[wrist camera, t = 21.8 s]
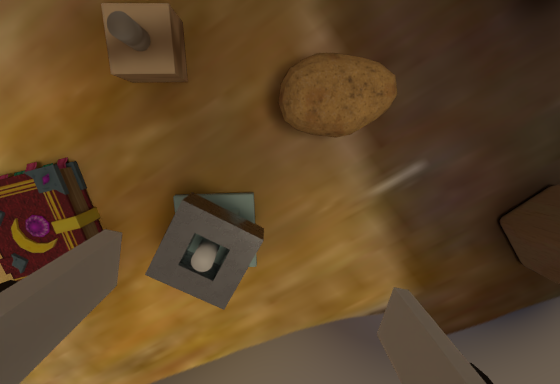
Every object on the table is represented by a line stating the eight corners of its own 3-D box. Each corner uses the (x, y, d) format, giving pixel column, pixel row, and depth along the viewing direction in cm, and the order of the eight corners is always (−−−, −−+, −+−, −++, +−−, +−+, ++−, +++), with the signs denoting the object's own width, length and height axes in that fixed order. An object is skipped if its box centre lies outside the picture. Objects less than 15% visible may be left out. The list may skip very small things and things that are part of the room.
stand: (125, 22, 33) (74, -18, 25) (182, 22, 34) (153, -17, 25) (132, 82, 35) (87, 65, 26) (187, 81, 35) (161, 64, 26)
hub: (175, 194, 38) (145, 215, 29) (253, 192, 39) (249, 212, 29) (183, 266, 41) (156, 308, 31) (256, 263, 41) (253, 303, 31)
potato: (380, 131, 38) (409, 130, 30) (280, 142, 38) (284, 144, 30) (377, 55, 36) (409, 34, 28) (272, 67, 35) (274, 48, 28)
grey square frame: (191, 192, 33) (182, 199, 29) (263, 228, 35) (263, 240, 31) (158, 258, 35) (145, 274, 31) (228, 290, 36) (224, 309, 32)
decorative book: (44, 277, 40) (14, 297, 35) (-6, 172, 37) (-48, 178, 32) (118, 258, 40) (98, 276, 35) (75, 152, 37) (46, 155, 32)
